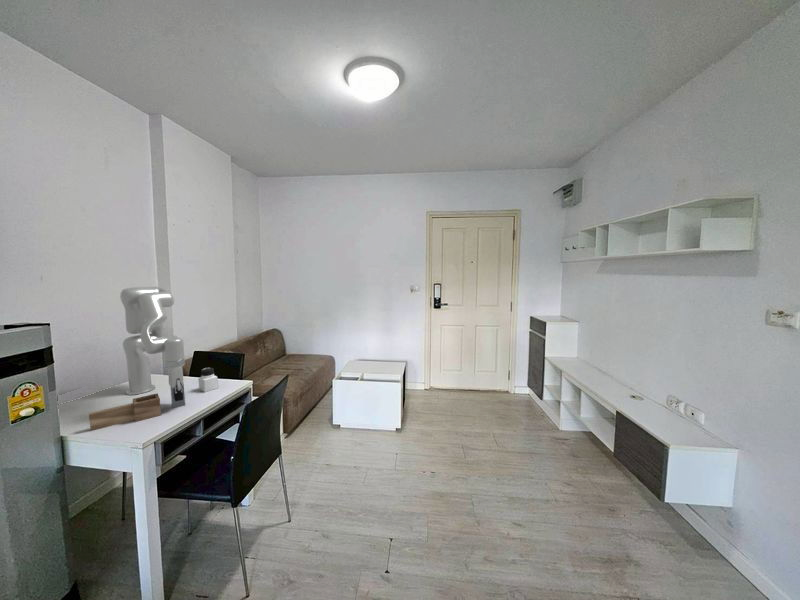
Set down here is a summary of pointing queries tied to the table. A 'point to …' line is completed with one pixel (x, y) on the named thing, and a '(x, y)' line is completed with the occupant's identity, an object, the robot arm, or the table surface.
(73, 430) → the table surface
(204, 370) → the medicine bottle
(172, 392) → the grey upright block
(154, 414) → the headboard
